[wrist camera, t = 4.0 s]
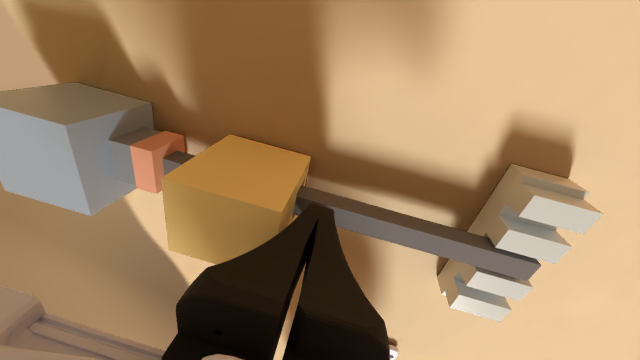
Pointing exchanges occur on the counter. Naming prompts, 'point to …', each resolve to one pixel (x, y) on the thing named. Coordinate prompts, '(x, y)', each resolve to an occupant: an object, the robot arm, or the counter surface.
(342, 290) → the robot arm
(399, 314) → the counter surface
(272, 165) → the sleeve
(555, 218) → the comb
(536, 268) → the red-tipped gray rod
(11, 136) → the block
